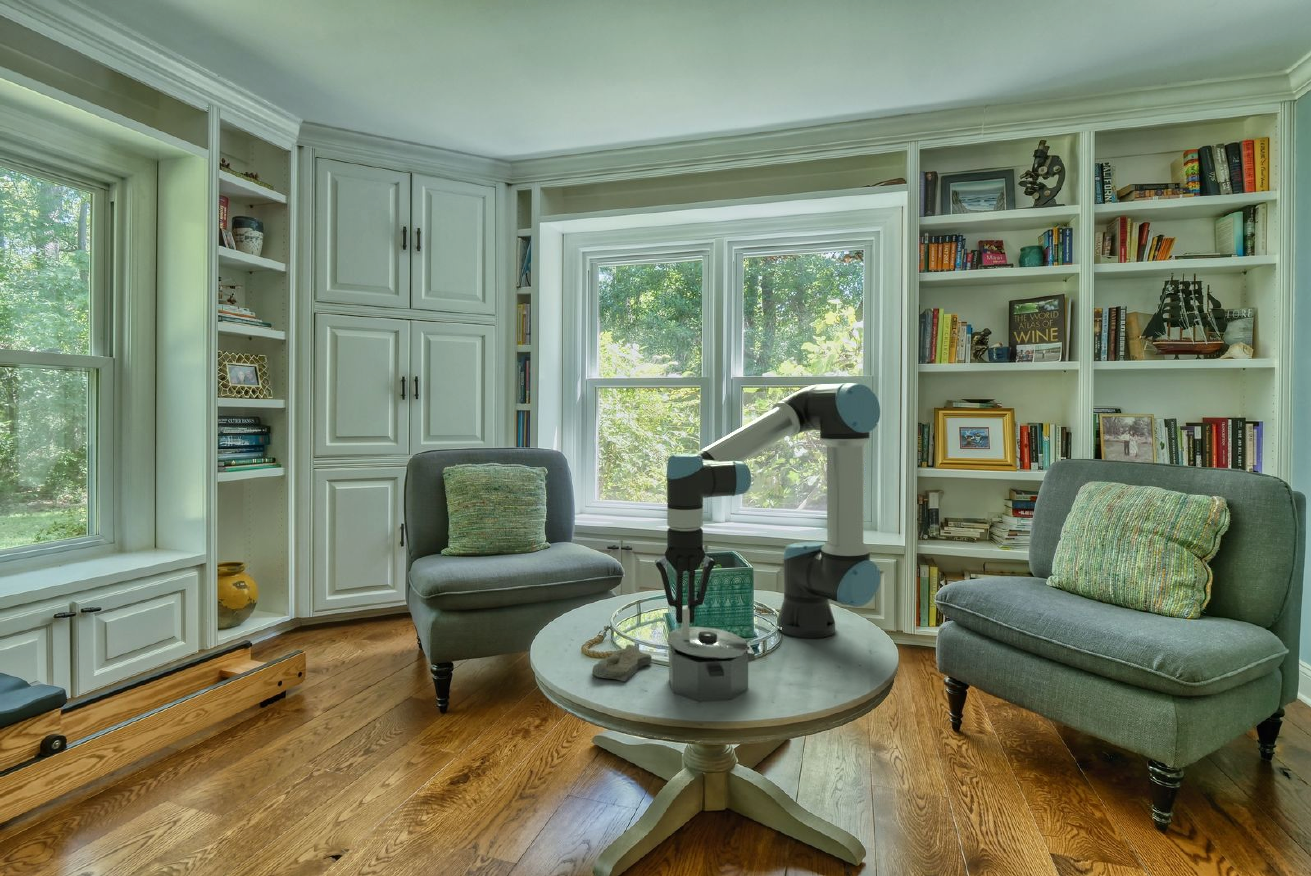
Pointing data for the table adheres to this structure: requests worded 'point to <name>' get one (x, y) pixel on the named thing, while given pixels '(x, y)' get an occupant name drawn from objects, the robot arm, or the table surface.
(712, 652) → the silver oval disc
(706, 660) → the pot
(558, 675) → the table surface
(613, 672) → the stone
